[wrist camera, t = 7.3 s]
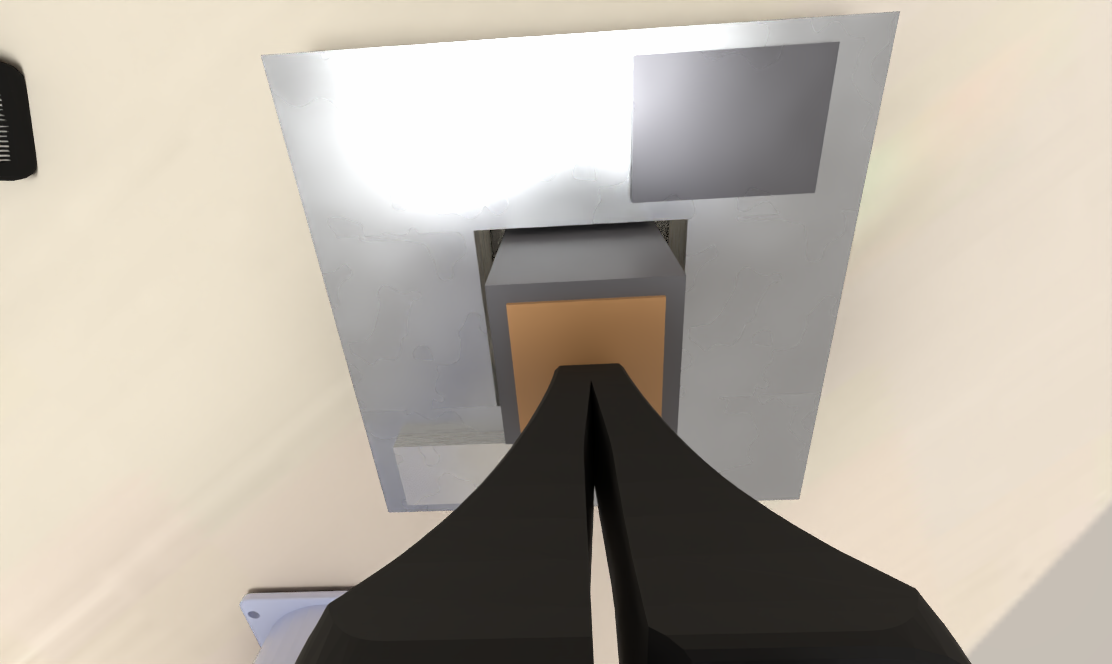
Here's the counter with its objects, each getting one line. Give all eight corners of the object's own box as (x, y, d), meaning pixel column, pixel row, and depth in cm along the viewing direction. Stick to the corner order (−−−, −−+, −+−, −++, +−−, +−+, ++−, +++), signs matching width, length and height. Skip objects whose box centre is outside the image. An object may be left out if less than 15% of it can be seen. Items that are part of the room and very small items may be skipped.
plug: (642, 324, 17) (677, 440, 12) (523, 330, 17) (505, 447, 12) (644, 205, 16) (687, 277, 10) (511, 212, 16) (483, 287, 10)
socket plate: (772, 450, 20) (806, 512, 17) (408, 463, 20) (383, 526, 17) (843, 21, 13) (917, 8, 10) (309, 57, 14) (245, 54, 11)
